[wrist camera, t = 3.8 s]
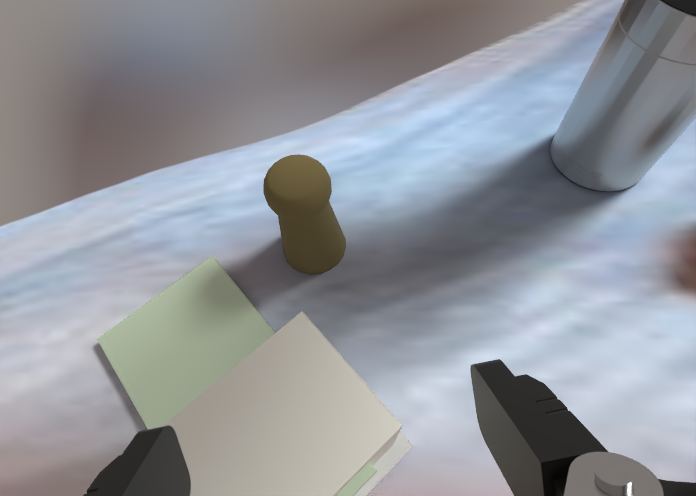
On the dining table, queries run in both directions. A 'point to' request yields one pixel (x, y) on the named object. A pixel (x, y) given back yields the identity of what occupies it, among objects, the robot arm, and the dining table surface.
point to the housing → (289, 424)
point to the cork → (305, 213)
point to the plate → (183, 342)
